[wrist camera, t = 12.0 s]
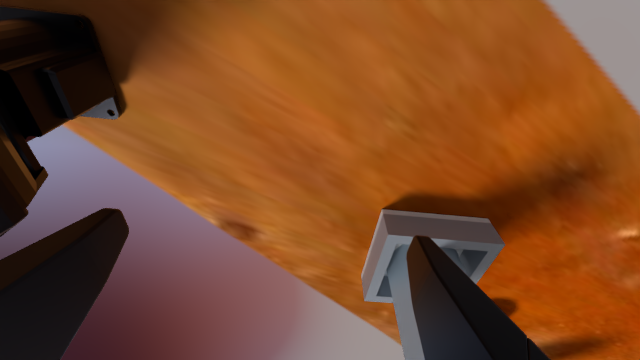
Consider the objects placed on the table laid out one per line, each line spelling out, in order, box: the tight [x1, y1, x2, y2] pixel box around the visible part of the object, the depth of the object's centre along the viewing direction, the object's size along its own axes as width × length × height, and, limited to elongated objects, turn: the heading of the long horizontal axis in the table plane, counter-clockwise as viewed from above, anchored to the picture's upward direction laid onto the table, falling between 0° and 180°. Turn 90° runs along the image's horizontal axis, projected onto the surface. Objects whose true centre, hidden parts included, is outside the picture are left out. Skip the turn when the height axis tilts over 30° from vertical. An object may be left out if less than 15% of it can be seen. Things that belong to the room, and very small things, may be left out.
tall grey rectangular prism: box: [387, 244, 468, 360], centre depth 23 cm, size 5×5×14 cm
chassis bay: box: [361, 209, 505, 303], centre depth 27 cm, size 10×10×3 cm
